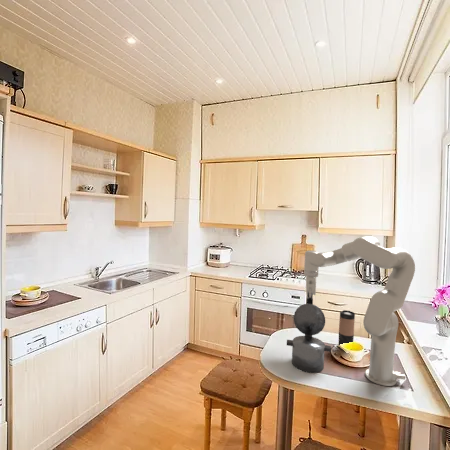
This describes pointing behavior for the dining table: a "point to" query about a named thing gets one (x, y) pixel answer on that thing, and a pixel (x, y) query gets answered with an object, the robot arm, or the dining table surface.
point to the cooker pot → (308, 353)
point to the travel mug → (346, 326)
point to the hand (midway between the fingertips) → (309, 305)
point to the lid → (309, 319)
